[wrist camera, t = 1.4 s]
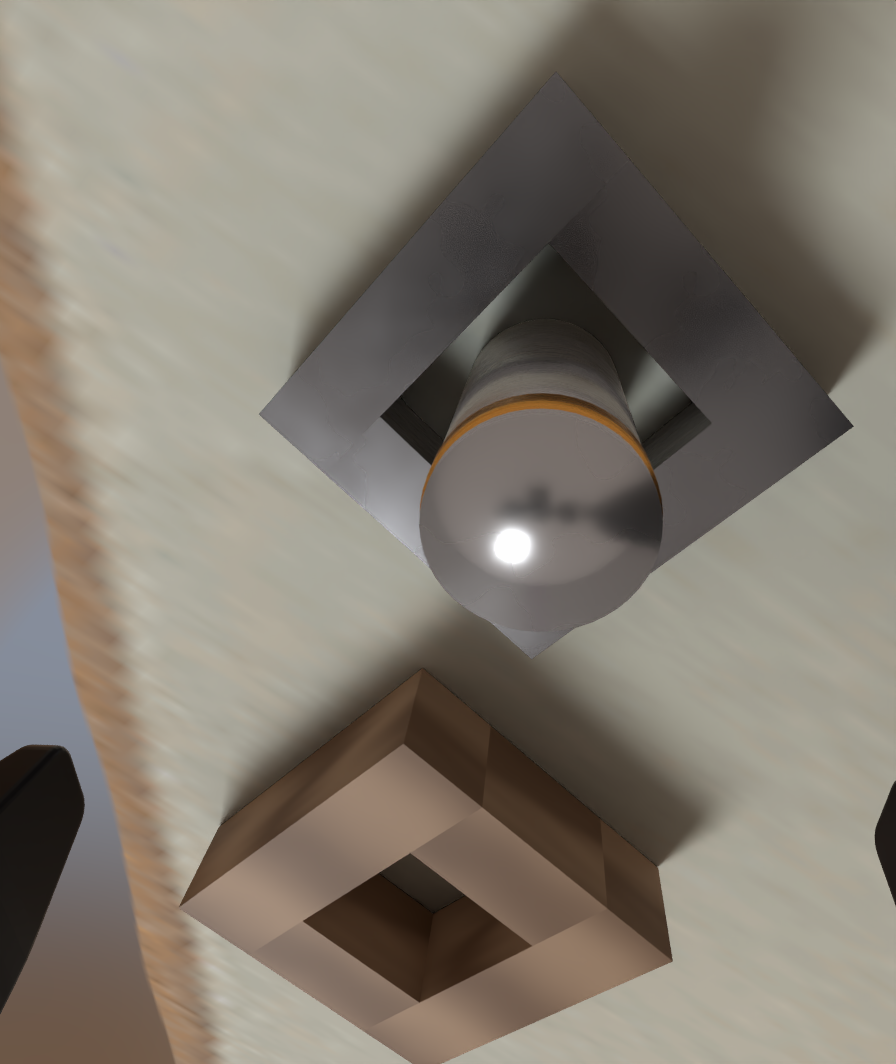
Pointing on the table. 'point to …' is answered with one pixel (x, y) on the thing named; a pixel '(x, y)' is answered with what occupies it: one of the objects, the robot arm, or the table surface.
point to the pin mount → (619, 282)
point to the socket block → (453, 853)
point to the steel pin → (541, 485)
